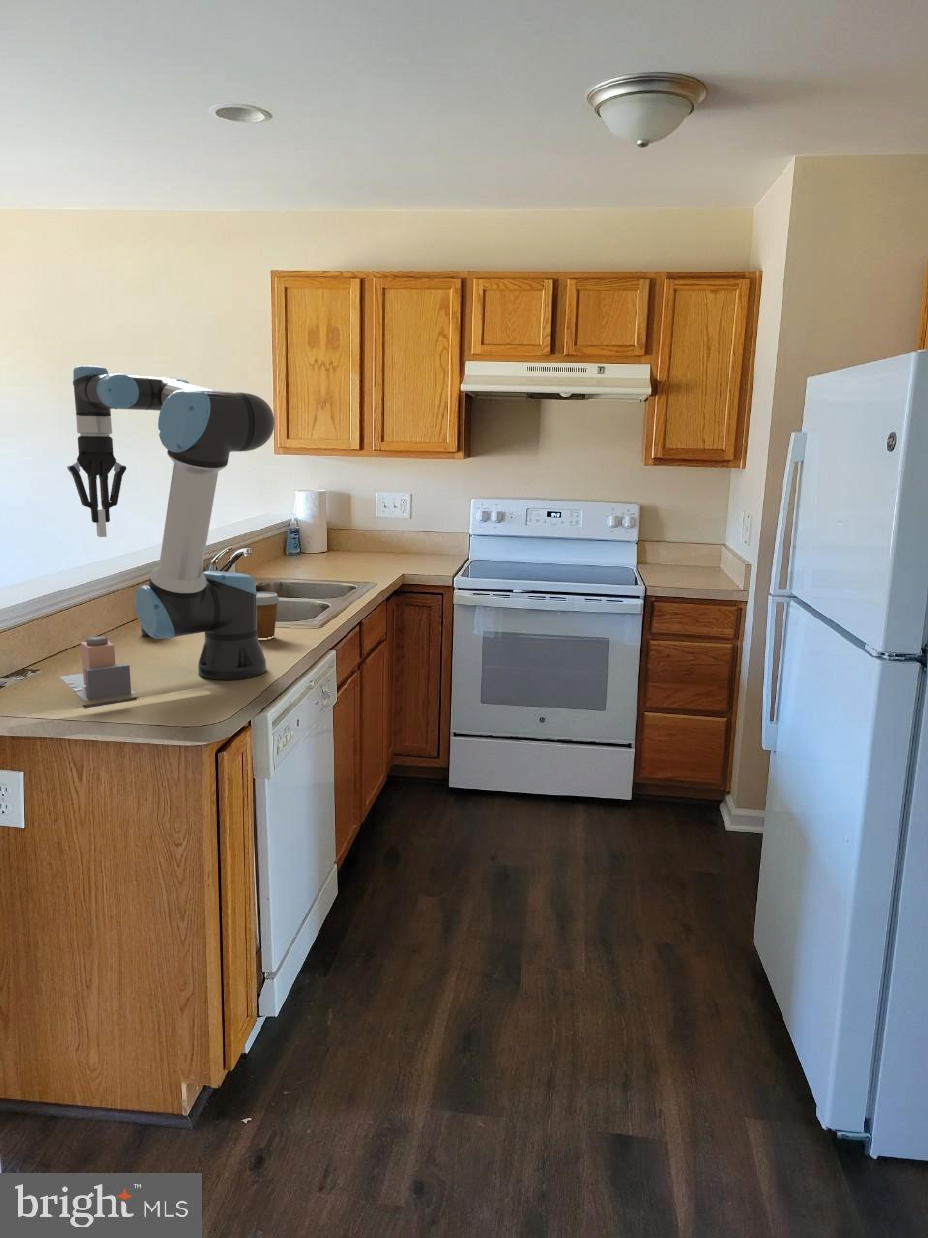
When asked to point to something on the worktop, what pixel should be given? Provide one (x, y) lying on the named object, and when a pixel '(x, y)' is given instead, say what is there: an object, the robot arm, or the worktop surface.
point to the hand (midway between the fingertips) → (101, 536)
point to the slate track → (102, 684)
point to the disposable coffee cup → (266, 613)
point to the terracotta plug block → (97, 653)
